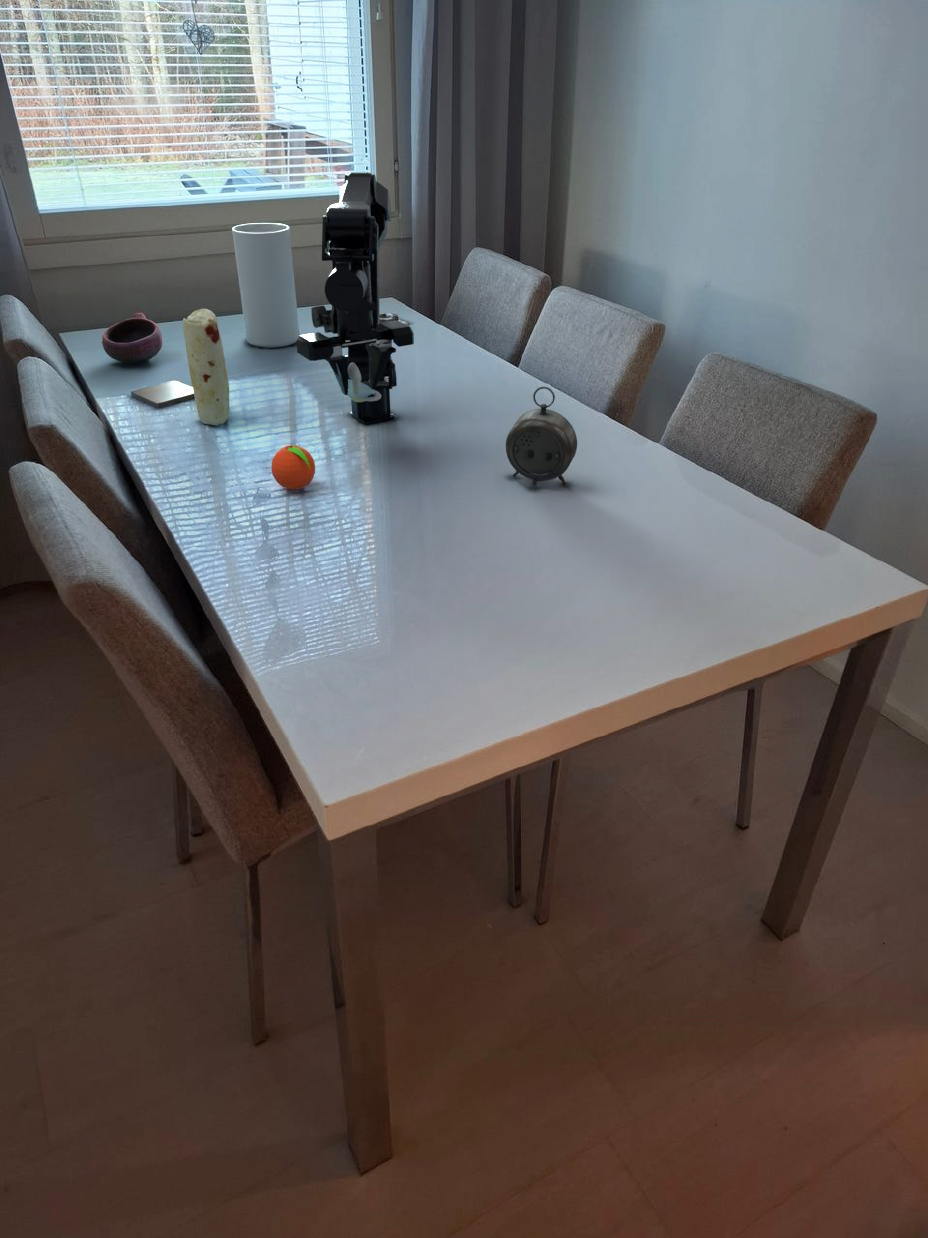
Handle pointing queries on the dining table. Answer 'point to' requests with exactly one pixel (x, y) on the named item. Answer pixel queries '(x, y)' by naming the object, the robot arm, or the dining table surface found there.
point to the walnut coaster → (164, 394)
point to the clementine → (293, 467)
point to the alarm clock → (541, 444)
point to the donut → (390, 318)
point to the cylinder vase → (266, 284)
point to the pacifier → (359, 386)
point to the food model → (207, 366)
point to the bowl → (133, 340)
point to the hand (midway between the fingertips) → (359, 391)
